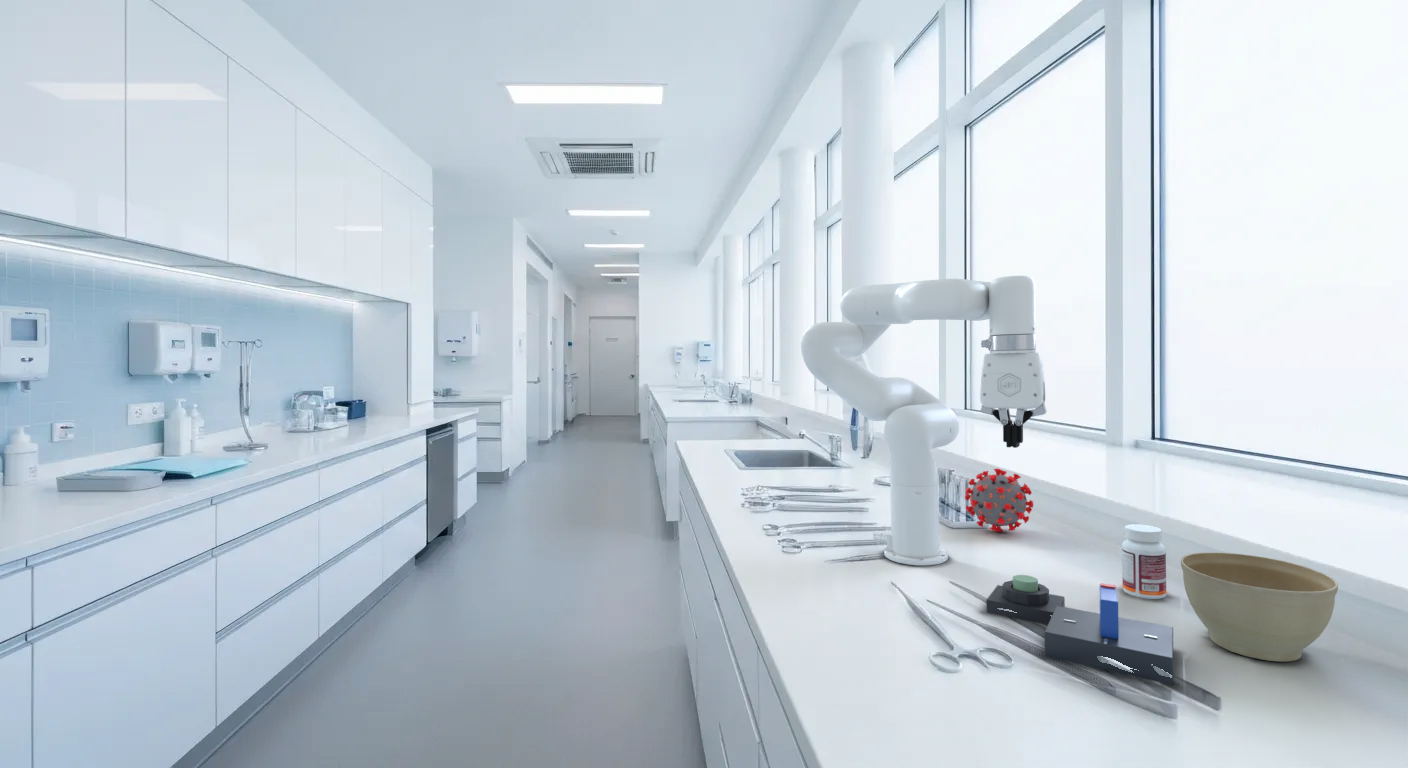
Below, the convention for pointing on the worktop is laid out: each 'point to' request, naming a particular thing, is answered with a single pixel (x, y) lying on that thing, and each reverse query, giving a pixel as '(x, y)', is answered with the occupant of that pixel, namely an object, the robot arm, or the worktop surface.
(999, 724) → the worktop surface
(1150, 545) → the pill bottle
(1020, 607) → the block
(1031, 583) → the button
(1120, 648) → the panel
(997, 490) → the virus model
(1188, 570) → the planter bowl
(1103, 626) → the blue flat block
